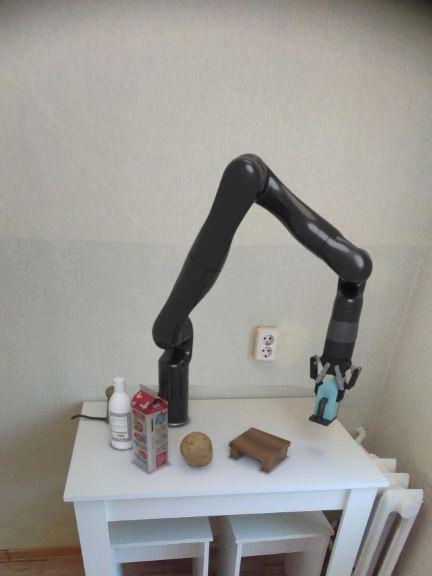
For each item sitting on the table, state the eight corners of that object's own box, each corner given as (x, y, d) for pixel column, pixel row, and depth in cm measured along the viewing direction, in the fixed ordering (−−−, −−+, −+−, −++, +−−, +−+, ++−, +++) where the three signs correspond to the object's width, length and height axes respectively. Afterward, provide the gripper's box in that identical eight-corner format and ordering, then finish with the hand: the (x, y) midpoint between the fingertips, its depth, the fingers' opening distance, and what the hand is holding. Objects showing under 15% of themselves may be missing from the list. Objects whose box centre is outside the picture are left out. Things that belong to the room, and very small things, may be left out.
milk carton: (152, 453, 130) (150, 380, 118) (168, 463, 127) (167, 388, 114) (133, 462, 127) (129, 386, 114) (148, 472, 123) (146, 395, 110)
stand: (250, 441, 139) (252, 426, 136) (288, 456, 133) (290, 441, 130) (227, 457, 131) (229, 442, 128) (267, 474, 125) (269, 458, 122)
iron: (326, 372, 127) (315, 380, 122) (346, 378, 124) (335, 386, 119) (318, 412, 133) (307, 420, 128) (336, 418, 131) (326, 427, 126)
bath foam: (137, 448, 133) (134, 382, 121) (113, 451, 130) (108, 385, 119) (132, 436, 138) (129, 372, 126) (109, 439, 136) (103, 375, 124)
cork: (121, 425, 143) (119, 392, 137) (103, 423, 144) (100, 390, 138) (128, 417, 148) (126, 384, 142) (110, 414, 149) (108, 382, 142)
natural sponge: (181, 455, 131) (181, 423, 125) (212, 457, 131) (214, 425, 125) (178, 472, 123) (178, 440, 118) (211, 475, 123) (213, 442, 118)
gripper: (308, 333, 118) (298, 394, 127) (362, 347, 111) (347, 410, 121) (321, 327, 123) (310, 386, 132) (373, 339, 116) (357, 401, 126)
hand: (328, 397), depth 127 cm, fingers closed on iron, 5 cm apart
